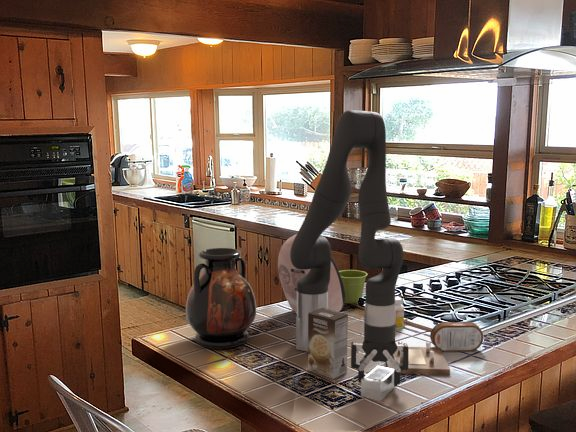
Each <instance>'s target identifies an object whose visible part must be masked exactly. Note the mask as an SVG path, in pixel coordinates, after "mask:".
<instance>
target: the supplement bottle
mask: <svg viewBox="0 0 576 432" xmlns="http://www.w3.org/2000/svg"><path fill="white" fill-rule="evenodd" d="M402 303H403V299H402V297H400V296H395V309H396V330H397V329H398V330H399V329H403V328H404V324H405V323H404V322H405V321H404V320H405V306H404V305H403V304H402Z"/></svg>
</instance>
